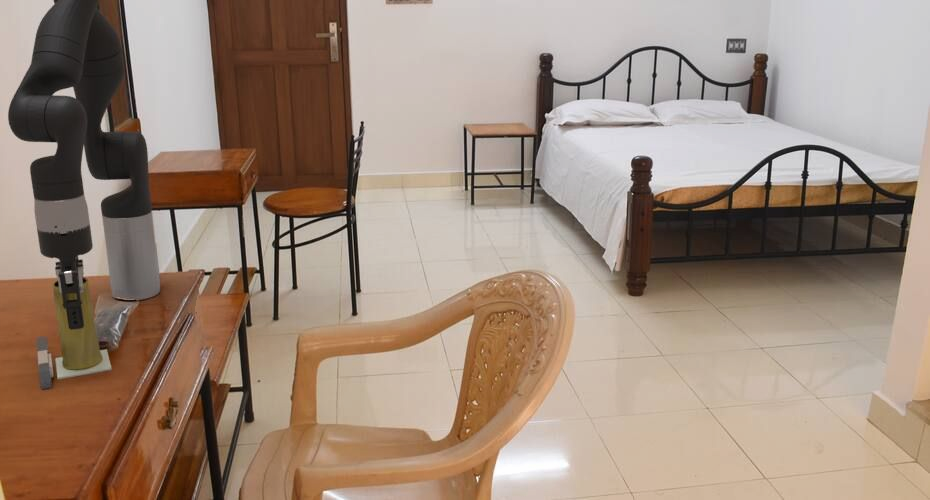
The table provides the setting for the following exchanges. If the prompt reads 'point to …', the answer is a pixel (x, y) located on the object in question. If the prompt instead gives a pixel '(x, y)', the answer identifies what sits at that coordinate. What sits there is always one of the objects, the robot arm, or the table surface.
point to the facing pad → (67, 373)
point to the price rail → (44, 363)
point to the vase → (77, 332)
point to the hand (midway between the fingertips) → (76, 318)
